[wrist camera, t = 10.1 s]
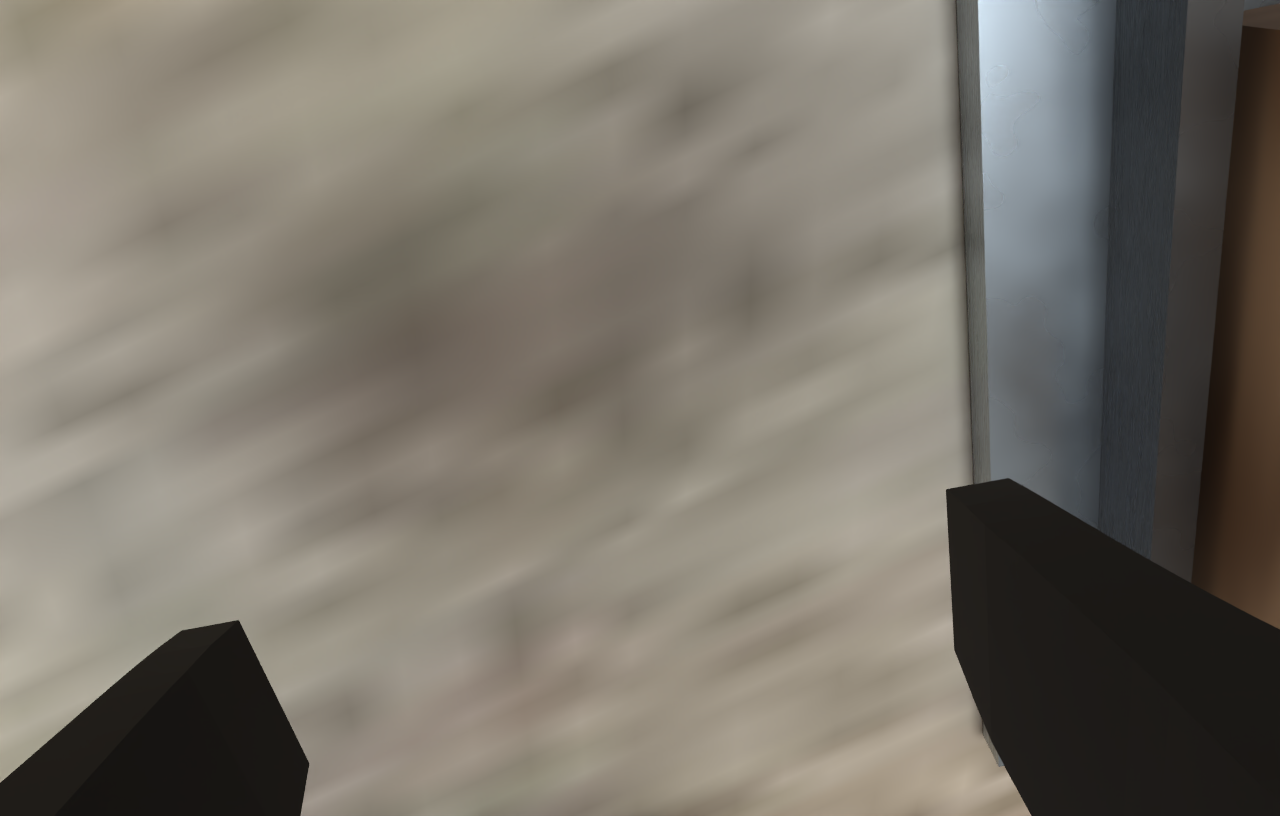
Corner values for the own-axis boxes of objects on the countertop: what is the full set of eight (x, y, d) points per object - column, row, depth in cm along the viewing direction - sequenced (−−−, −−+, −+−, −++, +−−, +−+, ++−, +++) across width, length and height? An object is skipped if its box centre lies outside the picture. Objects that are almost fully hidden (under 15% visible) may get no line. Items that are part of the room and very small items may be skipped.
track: (1390, 665, 23) (1495, 761, 20) (983, 735, 23) (1033, 837, 21) (1612, -338, 14) (1855, -406, 11) (949, -192, 14) (1030, -224, 12)
